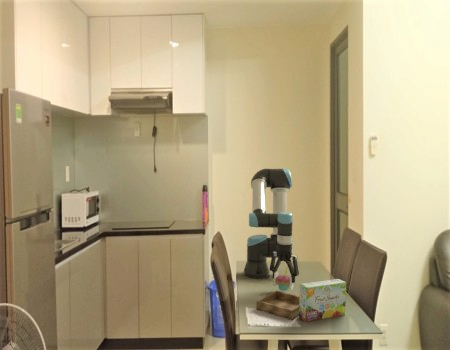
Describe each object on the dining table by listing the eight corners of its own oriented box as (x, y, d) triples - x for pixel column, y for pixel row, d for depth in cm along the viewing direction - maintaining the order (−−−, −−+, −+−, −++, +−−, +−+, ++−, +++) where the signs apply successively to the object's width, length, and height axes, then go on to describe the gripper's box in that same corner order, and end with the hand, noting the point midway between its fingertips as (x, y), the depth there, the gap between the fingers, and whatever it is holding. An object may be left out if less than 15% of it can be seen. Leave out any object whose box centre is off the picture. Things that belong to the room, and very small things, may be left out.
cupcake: (295, 289, 194) (295, 266, 193) (285, 293, 187) (286, 269, 187) (281, 285, 199) (281, 262, 199) (271, 289, 193) (272, 266, 193)
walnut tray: (256, 309, 171) (256, 301, 171) (276, 298, 185) (276, 290, 185) (292, 320, 160) (292, 310, 160) (310, 307, 174) (310, 299, 174)
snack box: (306, 322, 158) (306, 287, 157) (298, 317, 163) (299, 283, 162) (346, 315, 166) (346, 281, 166) (337, 310, 171) (338, 277, 171)
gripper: (262, 241, 196) (262, 284, 197) (300, 247, 183) (299, 293, 184) (270, 238, 201) (269, 280, 203) (306, 244, 189) (305, 289, 190)
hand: (283, 286), depth 193 cm, fingers closed on cupcake, 8 cm apart
